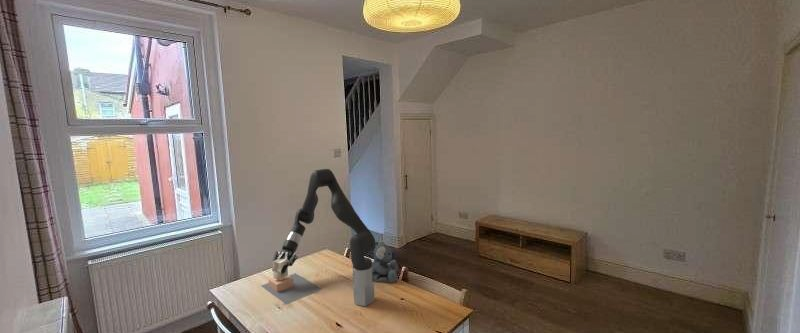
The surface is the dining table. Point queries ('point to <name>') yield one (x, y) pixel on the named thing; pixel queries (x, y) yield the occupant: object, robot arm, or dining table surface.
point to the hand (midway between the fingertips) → (278, 272)
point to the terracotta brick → (280, 283)
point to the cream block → (279, 269)
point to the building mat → (294, 289)
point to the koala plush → (384, 264)
